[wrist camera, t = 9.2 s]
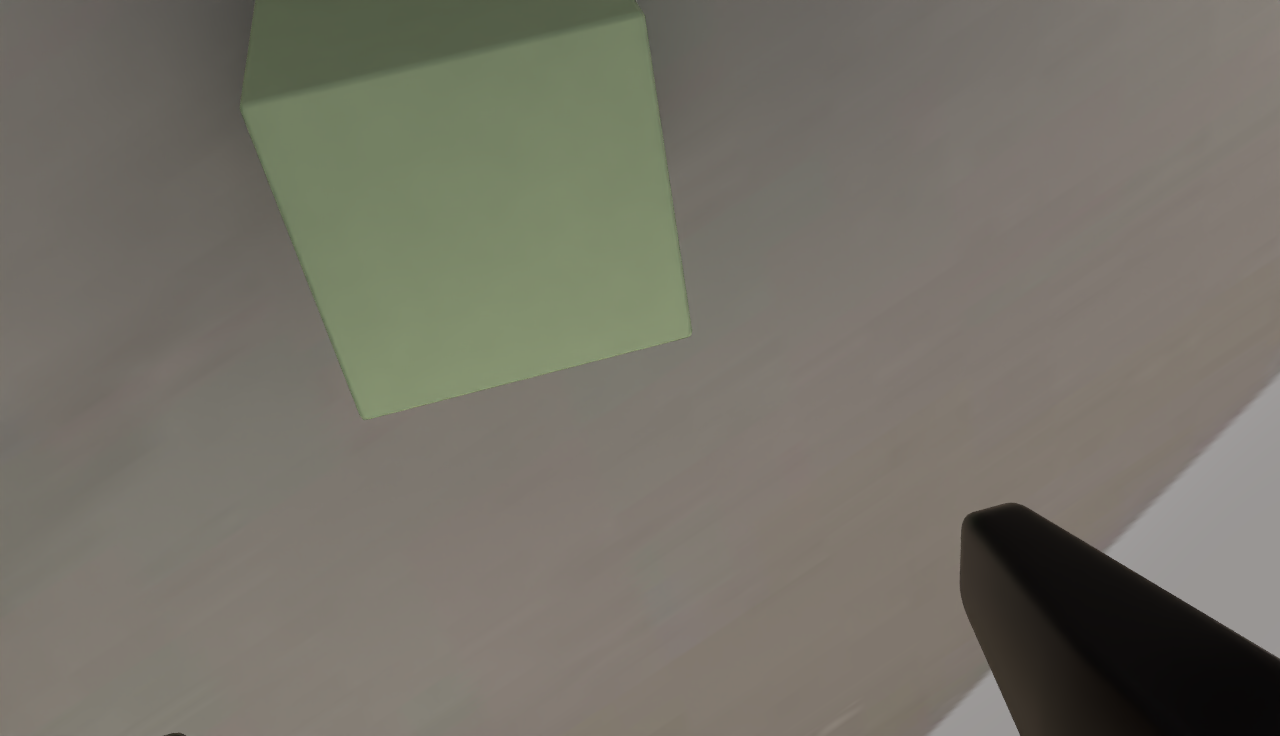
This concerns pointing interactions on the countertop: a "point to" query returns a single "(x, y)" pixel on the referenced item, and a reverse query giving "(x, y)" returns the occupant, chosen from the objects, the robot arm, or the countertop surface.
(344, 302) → the block
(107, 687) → the countertop surface
